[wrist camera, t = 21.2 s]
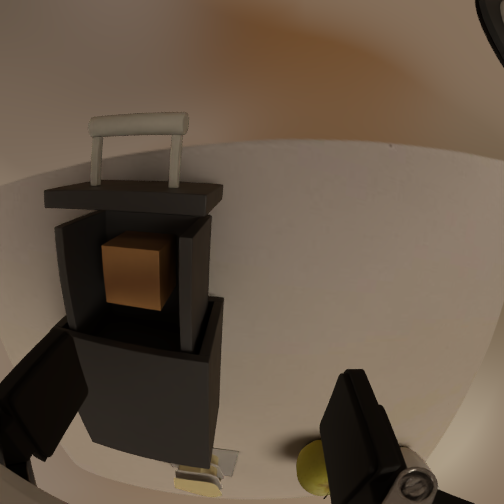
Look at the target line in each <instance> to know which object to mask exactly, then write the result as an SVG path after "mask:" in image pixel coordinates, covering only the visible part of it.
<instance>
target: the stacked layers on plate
mask: <svg viewBox="0 0 504 504" xmlns="http://www.w3.org/2000/svg"><path fill="white" fill-rule="evenodd" d="M238 453H239V452H238V451H229V450H222V449H215V448H213V450H212V458H211V465H210V469H204V468H197V467H190V466H184V465H178V464H173V463H172V467H176V468H178V470H176V471H175V472H176V478H174V484H175V488H178V489H181V490H184V491H188V492H191V493H195V494H199V495H202V496H208V497H217V496H221V495H222V494H221V492H220V489H222V488H223V486H222V484H221V479H223V478H224V476H232V475H233V471H234V467H235V464H236V460H237V457H238ZM223 475H224V476H223Z"/></svg>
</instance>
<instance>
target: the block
mask: <svg viewBox="0 0 504 504" xmlns="http://www.w3.org/2000/svg"><path fill="white" fill-rule="evenodd" d="M101 247H102V261H103V273H104V283H105V292H106V300H107V302H109V303H115V304H120V305H126V306H133V307H139V308H145V309H152V310H159V311H161V309H162V308H163V306H164V304H165V303H166V301H167V300H168V298H169V296H170V295H171V293H172V291H173V290H174V288H175V287H176V235H173V234H161V233H149V232H137V231H125V232H123V233H122V234H120V235H118V236H117V237H115V238H113V239H111V240H110V241H108V242H106V243H105V244H103V245H102V246H101Z"/></svg>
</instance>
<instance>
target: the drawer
mask: <svg viewBox="0 0 504 504" xmlns="http://www.w3.org/2000/svg"><path fill="white" fill-rule="evenodd" d="M188 125H189V117H188V113H186V112H165V113H163V112H162V113H137V114H124V115H111V116H100V117H93V118H91V120H90V121H89V125H88V132H89V135H90V136H91V137H93V141H92V154H91V180H90V182H84V183H79V184H73V185H68V186H63V187H58V188H53V189H48V190H45V191H44V207H45V208H64V209H89V210H98V211H95V212H92V213H90V214H87V215H84V216H82V217H79V218H76V219H74V220H71V221H68V222H66V223H63V224H61V225H58V226H56V227H55V228H54V230H55V242H56V252H57V261H58V269H59V276H60V282H61V288H62V294H63V300H64V305H65V310H66V315H67V319H68V324H69V328H70V330H72V331H76V332H80V333H84V334H88V335H92V336H97V337H101V338H105V339H110V340H114V341H119V342H124V343H129V344H134V345H139V346H145V347H150V348H156V349H162V350H168V351H175V352H181V353H188V354H196V355H199V352H200V349H201V345H202V342H203V338H204V335H205V331H206V328H207V315H208V283H209V259H210V239H211V222H212V216H211V215H207V214H208V213H209V212H210V211H211V210H212V209H213V208H214V207H215V206H216V205H217V204H218V203H219V202H220V201H221V200H222V195H223V185H220V184H205V183H188V182H179V180H180V165H181V152H182V139H183V135H185V134H186V133H187V131H188ZM126 135H127V136H128V135H172V140H171V141H172V142H171V153H170V167H169V182H167V181H136V180H101V160H102V144H103V137H108V136H126ZM125 231H137V232H149V233H161V234H173V235H176V287H175V288H174V290H173V291H172V293H171V295H170V296H169V298H168V300H167V301H166V303H165V304H164V306H163V308H162V309H161V311H159V310H152V309H145V308H139V307H133V306H126V305H120V304H115V303H109V302H107V300H106V292H105V283H104V273H103V261H102V247H101V246H102V245H103V244H105V243H106V242H108V241H110V240H111V239H113V238H115V237H117V236H118V235H120V234H122V233H123V232H125Z"/></svg>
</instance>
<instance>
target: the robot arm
mask: <svg viewBox="0 0 504 504" xmlns="http://www.w3.org/2000/svg"><path fill="white" fill-rule="evenodd" d="M500 11H501V16H502V20H503V23H504V0H503V1H502V2H501V4H500ZM87 396H88V386H87V383H86V380H85V377H84V374H83V371H82V368H81V364H80V361H79V357H78V354H77V350H76V347H75V343H74V339H73V337H72V336H71V335H70V333H69V332H68V331H66V330H62V329H59V328H53V329H52V330H51V331H50V332H49V333H48V334H47V335H46V336H45V337H44V338H43V339H42V340H41V341H40V342H39V343H38V344H37V345H36V346H35V347H34V348H33V349H32V350H31V351H30V352H29V353H28V354H27V355H26V356H25V357H24V358H23V359H22V360H21V361H20V362H19V363H18V364H17V365H16V366H15V368H14V369H13V370H12V371H11V372H10V373H9V374H8V375H7V376H6V377H5V379H4V380H3V381H2V382H1V383H0V504H68V503H66V502H64V501H62V500H60V499H58V498H56V497H54V496H52V495H50V494H48V493H47V492H44V491H43V490H41V489H40V488H38V487H37V485H36V481H35V478H34V473H33V470H32V465H31V461H30V457H31V456H32V454H33V455H34V456H35V457H36V458H38V459H40V460H42V461H44V462H45V461H46V459H47V457H50V456H52V454H53V453H54V451H55V449H56V447H57V446H58V444H59V442H60V440H61V439H62V437H63V435H64V434H65V432H66V430H67V429H68V427H69V425H70V424H71V422H72V420H73V419H74V417H75V415H76V414H77V412H78V410H79V409H80V407H81V406H82V404H83V402H84V401H85V399H86V397H87ZM320 436H321V441H322V447H323V453H324V459H325V465H326V471H327V477H328V484H329V490H330V497H331V504H474V503H472V502H469V501H466V500H464V499H461V498H458V497H456V496H453V495H450V494H448V493H446V492H443V491H441V490H439V489H437V488H438V483H437V479H436V478H435V475H434V474H433V473H432V472H431V471H429V470H428V469H426V468H423V467H410V468H407V465H406V463H405V460H404V457H403V454H402V452H401V449H400V447H399V444H398V441H397V439H396V436H395V434H394V431H393V429H392V426H391V424H390V421H389V419H388V416H387V414H386V411H385V409H384V408H383V406H382V405H378V402H377V400H376V397H375V395H374V393H373V390H372V388H371V385H370V383H369V381H368V378H367V376H366V374H365V371H364V370H363V369H347V370H345V372H344V373H342V374H340V375H339V377H338V380H337V382H336V385H335V388H334V390H333V393H332V396H331V398H330V401H329V403H328V406H327V408H326V411H325V413H324V416H323V418H322V420H321V423H320Z"/></svg>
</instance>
